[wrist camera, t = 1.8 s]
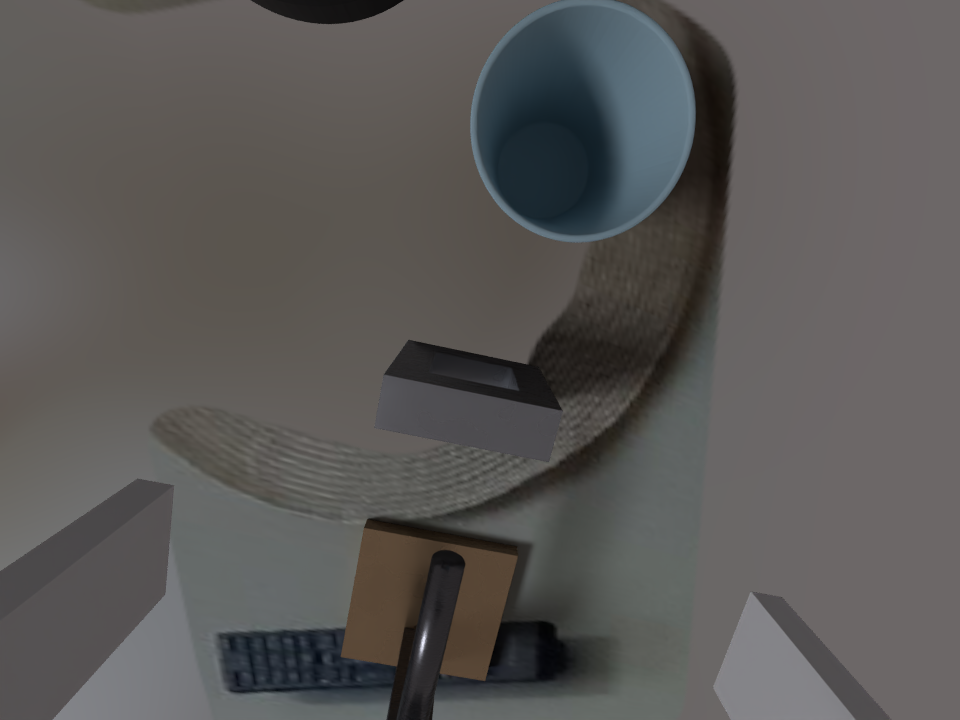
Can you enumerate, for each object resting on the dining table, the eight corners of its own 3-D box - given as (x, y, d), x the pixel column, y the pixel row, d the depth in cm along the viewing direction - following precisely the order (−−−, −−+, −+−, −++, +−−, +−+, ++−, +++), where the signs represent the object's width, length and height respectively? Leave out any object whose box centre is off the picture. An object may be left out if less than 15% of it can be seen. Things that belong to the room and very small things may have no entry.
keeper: (378, 460, 30) (328, 570, 20) (531, 490, 30) (560, 611, 20) (344, 644, 33) (287, 822, 23) (484, 668, 34) (489, 851, 23)
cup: (581, 70, 25) (655, -50, 15) (630, 209, 27) (725, 187, 17) (450, 132, 26) (435, 58, 15) (505, 265, 27) (524, 275, 17)
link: (408, 339, 28) (383, 374, 20) (538, 366, 29) (562, 410, 21) (401, 379, 29) (374, 427, 21) (528, 405, 29) (548, 462, 21)
